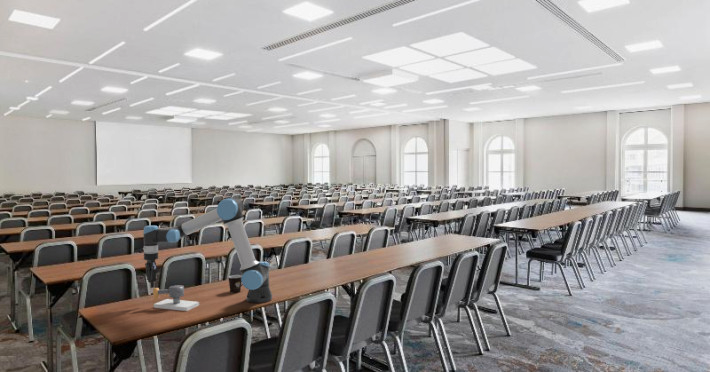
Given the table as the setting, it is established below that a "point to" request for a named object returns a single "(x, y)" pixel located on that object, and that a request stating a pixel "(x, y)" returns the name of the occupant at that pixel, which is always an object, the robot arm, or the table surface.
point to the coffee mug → (235, 283)
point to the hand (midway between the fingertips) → (151, 292)
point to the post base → (176, 304)
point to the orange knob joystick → (169, 292)
